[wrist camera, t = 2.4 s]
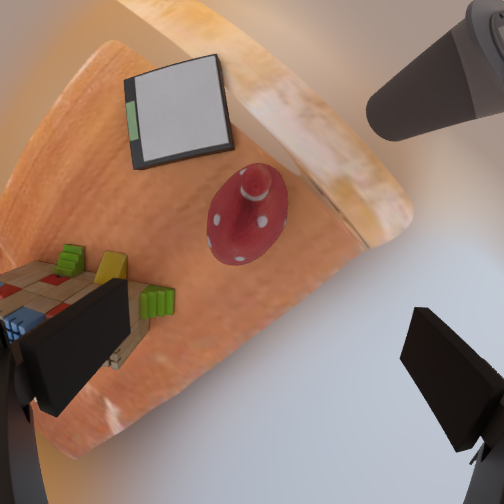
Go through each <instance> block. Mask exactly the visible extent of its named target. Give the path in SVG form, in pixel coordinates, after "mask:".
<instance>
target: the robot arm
mask: <svg viewBox="0 0 504 504" xmlns="http://www.w3.org/2000/svg"><path fill="white" fill-rule="evenodd" d="M489 27H490V33H491V36H492V39H493V42H494V45H495V47H496V49H497V51H498V53H499V55H500V57H501V58H502V60H503V62H504V9H503V10H499V11H497V12H496V13H494V14H493V15H492V16H491V18H490V21H489ZM130 334H131V327H130V314H129V298H128V280H127V279H120V278H112V279H110V280H109V281H107V282H106V283H104V284H102V285H101V286H99V287H98V288H96V289H95V290H93V291H91V292H90V293H88V294H87V295H85V296H84V297H82V298H81V299H79V300H78V301H76V302H75V303H73V304H72V305H70V306H68V307H67V308H65V309H64V310H62V311H61V312H59V313H58V314H56V315H55V316H54V317H51V318H48V319H45V320H44V321H42V322H41V323H39V324H38V325H37V327H36V326H35V327H33V328H32V329H30V331H28V332H26V333H25V334H23V335H22V336H20V337H19V338H17V339H16V340H15V341H13V342H12V343H10V341H9V337H8V333H7V329H6V325H5V322H4V321H3V320H1V319H0V504H48V500H47V496H46V492H45V488H44V483H43V479H42V474H41V469H40V464H39V458H38V452H37V445H36V438H35V429H34V420H33V410H32V407H31V405H30V402H31V401H32V400H33V399H34V398H35V397H36V400H37V403H38V405H39V408H40V410H41V411H43V412H45V413H48V414H50V415H52V416H54V417H56V418H57V417H58V416H59V414H60V413H61V412H62V411H63V410H64V409H65V407H66V406H67V405H68V404H69V403H70V402H71V400H72V399H73V398H74V397H75V396H76V395H77V393H78V392H79V391H80V390H81V389H82V388H83V387H84V385H85V384H86V383H87V382H88V381H89V380H90V379H91V377H92V376H93V375H94V374H95V373H96V372H97V371H98V369H99V368H100V367H101V366H102V365H103V364H104V363H105V362H106V360H107V359H108V358H109V357H110V356H111V355H112V354H113V353H114V352H115V350H116V349H117V348H118V347H119V346H120V345H121V344H122V343H123V342H124V340H125V339H126V338H127V337H128V336H129V335H130ZM400 360H401V361H402V363H403V365H404V366H405V368H406V369H407V371H408V372H409V374H410V376H411V377H412V379H413V380H414V382H415V384H416V385H417V387H418V388H419V390H420V392H421V393H422V395H423V396H424V398H425V400H426V401H427V403H428V405H429V406H430V408H431V410H432V411H433V413H434V415H435V416H436V418H437V420H438V422H439V423H440V425H441V427H442V428H443V430H444V432H445V434H446V435H447V437H448V439H449V441H450V443H451V444H452V446H453V448H454V450H455V451H456V452H461V451H465V450H468V449H471V448H473V446H474V445H475V443H476V442H477V440H478V439H479V437H480V436H481V437H482V439H483V440H484V443H483V444H482V446H481V447H480V449H479V450H478V452H477V453H476V454H475V456H474V457H473V459H472V460H471V461H470V463H469V464H470V465H472V463H473V462H474V461H475V460H477V461H476V464H475V468H474V472H473V475H472V478H471V482H470V485H469V488H468V491H467V494H466V497H465V500H464V502H463V504H504V379H503V378H502V376H501V375H500V374H499V373H497V371H496V370H495V369H494V368H492V366H491V365H490V364H489V363H488V362H487V361H486V360H484V359H483V358H481V357H480V356H479V355H478V354H477V353H476V352H475V351H474V350H473V349H472V348H471V347H470V346H469V345H468V344H467V343H466V342H465V341H464V340H462V339H461V338H460V337H459V336H458V335H457V334H456V333H455V332H454V331H453V330H452V329H451V328H450V327H449V326H447V324H445V323H444V322H443V321H442V320H441V319H440V318H439V317H438V316H437V315H435V314H434V313H433V312H432V311H431V310H430V309H429V308H423V307H414V311H413V315H412V319H411V322H410V326H409V330H408V333H407V337H406V340H405V343H404V346H403V350H402V353H401V356H400Z"/></svg>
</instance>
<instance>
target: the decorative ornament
mask: <svg viewBox="0 0 504 504" xmlns="http://www.w3.org/2000/svg"><path fill="white" fill-rule="evenodd" d="M287 196H288V195H287V189H286V186H285V183H284V181H283V179H282V176H281V174H280V173H279V172H278V171H277V170H276V169H275V168H273V167H271V166H270V165H266V164H261V163H256V164H251V165H248V166H246V167H244V168H242V169H241V170H239V171H238V172H237V173H235V174H234V175H233V176H232V177H231V178H229V179H228V181H227V182H226V183H225V184H224V185H223V186H222V188H221V189H220V190H219V191H218V192H217V193H216V195H215V196H214V198H213V199H212V202H211V205H210V209H209V213H208V222H207V242H208V245H209V247H210V249H211V252H212V253H213V255H214V257H215V258H216V259H218V260H219V261H220V262H222V263H224V264H227V265H237V266H238V265H244V264H247V263H250V262H252V261H254V260H256V259H257V258H259V257H260V256H262V255H263V254H264V253H265V252H266V251H267V250H268V249H269V248H270V247H271V246H272V245H273V244H274V243H275V241H276V240H277V239H278V237H279V236H280V234H281V232H282V231H283V229H284V227H285V224H286V220H287V211H288V199H287Z"/></svg>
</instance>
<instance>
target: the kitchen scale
mask: <svg viewBox="0 0 504 504" xmlns="http://www.w3.org/2000/svg"><path fill="white" fill-rule="evenodd" d="M124 90H125V102H126V113H127V123H128V132H129V140H130V148H131V156H132V163H133V169H134V170H144V169H148V168H152V167H156V166H160V165H164V164H169V163H173V162H177V161H182V160H186V159H191V158H196V157H200V156H205V155H210V154H215V153H221V152H226V151H231V150H234V144H233V138H232V131H231V125H230V119H229V113H228V107H227V101H226V95H225V88H224V82H223V76H222V70H221V64H220V60H219V58H218V56H217V54H212V55H208V56H203V57H199V58H195V59H191V60H188V61H183V62H180V63H176V64H172V65H169V66H165V67H162V68H159V69H155V70H152V71H149V72H146V73H143V74H140V75H137V76H134V77H131V78H128V79H126V80H124Z"/></svg>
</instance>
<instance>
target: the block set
mask: <svg viewBox="0 0 504 504" xmlns="http://www.w3.org/2000/svg"><path fill="white" fill-rule="evenodd" d="M126 277H127V255H126V254H122V253H116V252H111V251H105V253H104V256H103V258H102V261H101V263H100V266H99V268H98V271H97V273H93V272H88V271H84V247H81V246H75V245H69V244H65V245H64V246H63V251H62V252H60V259H58V260H57V265H55V264H49V263H45V262H40V261H33V262H31V263H28V264H26V265H24V266H21V267H19V268H16V269H14V270H11V271H9V272H6V273H4V274H1V275H0V319H1V320H3V321H4V322H5V325H6V329H7V333H8V337H9V341H10V343H12V342H13V341H15V340H16V339H17V338H19V337H20V336H22V335H23V334H25V333H26V332H28V331H30V329H32V328H33V327H35V326H36V327H37V325H38V324H39V323H41V322H42V321H44V320H45V319H48V318H51V317H54V316H55V315H56V314H58V313H59V312H61V311H62V310H64V309H65V308H67V307H68V306H70V305H72V304H73V303H75V302H76V301H78V300H79V299H81V298H82V297H84V296H85V295H87V294H88V293H90V292H91V291H93V290H95V289H96V288H98V287H99V286H101V285H102V284H104V283H106V282H107V281H109V280H110V279H112V278H120V279H126ZM174 291H175V290H174V289H171V288H165V287H159V286H153V285H149V284H145V283H139V282H134V281H130V280H128V298H129V314H130V327H131V334H130V335H129V336H128V337H127V338H126V339H125V340H124V342H123V343H122V344H121V345H120V346H119V347H118V348H117V349H116V350H115V352H114V353H113V354H112V355H111V356H110V357H109V358H108V359H107V360H106V362H105V363H104V364H103V365H102V366H105V367H110V365H111V368H112V369H115V370H119V368H120V367H121V366H122V365H123V363H124V362H125V361H126V359H127V358H128V357H129V356H130V354H131V353H132V352H133V350H134V349H135V348H136V346H137V345H138V344H139V343H140V341H141V340H142V339H143V338H144V336H145V335H146V334H147V333H148V331H149V325H150V318H156V317H157V316H161V317H164V316H165V315H173V314H174Z"/></svg>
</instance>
